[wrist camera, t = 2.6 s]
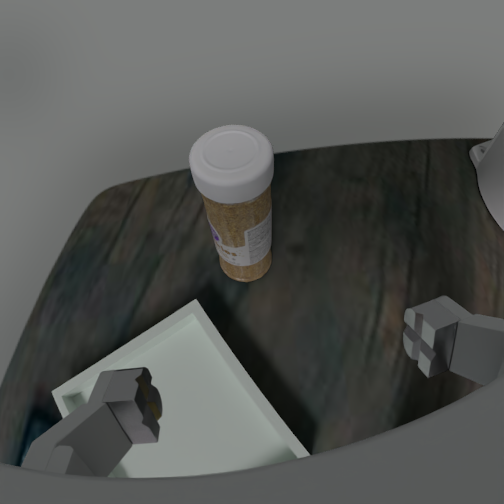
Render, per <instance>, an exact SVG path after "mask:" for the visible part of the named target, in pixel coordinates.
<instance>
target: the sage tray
mask: <svg viewBox="0 0 504 504" xmlns="http://www.w3.org/2000/svg"><path fill="white" fill-rule="evenodd" d="M139 367H146V368H148V369H149V372H150V374H151V376H152V381H151V384H152V385H153V386H155V387H156V388H157V389H158V391H159V393H160V396H161V400H162V408H163V411H162V417H161V418H160V419H159V420H158V423H159V425H160V432H159V439H158V442H157V443H146V444H132V445H133V446H132V447H131V448H130V450H129V451H128V452H127V453H126V455H125V456H124V457H123V458H122V460H121V461H120V462H119V463H118V464H117V466H116V467H115V468H114V469H113V471H112V472H111V473H110V474H109V475H108V477H119V478H152V477H175V476H190V475H201V474H211V473H219V472H227V471H234V470H241V469H247V468H253V467H259V466H265V465H270V464H275V463H280V462H284V461H289V460H293V459H298V458H302V457H306V456H310V454H309V453H308V452H307V450H306V449H305V448H304V447H303V445H302V444H301V443H300V442H299V440H298V439H297V438H296V437H295V435H294V434H293V433H292V432H291V430H290V429H289V428H288V427H287V425H286V424H285V423H284V421H283V420H282V419H281V417H280V416H279V415H278V414H277V412H276V411H275V410H274V408H273V407H272V406H271V404H270V403H269V402H268V400H267V399H266V398H265V396H264V395H263V394H262V392H261V391H260V390H259V388H258V387H257V386H256V384H255V383H254V382H253V380H252V379H251V377H250V376H249V375H248V373H247V372H246V371H245V369H244V368H243V366H242V365H241V364H240V362H239V361H238V359H237V358H236V357H235V355H234V354H233V352H232V351H231V350H230V348H229V347H228V345H227V344H226V342H225V341H224V339H223V338H222V337H221V335H220V334H219V332H218V331H217V329H216V328H215V326H214V325H213V323H212V322H211V320H210V319H209V318H208V316H207V315H206V313H205V312H204V310H203V309H202V307H201V306H200V304H199V303H198V301H197V299H195V300H193V301H192V302H190V303H189V304H187V305H185V306H184V307H182V308H181V309H179V310H178V311H176V312H175V313H173V314H172V315H170V316H169V317H167V318H165V319H164V320H162V321H161V322H159V323H158V324H156V325H155V326H153V327H152V328H150V329H148V330H147V331H145V332H144V333H142V334H141V335H139V336H138V337H136V338H135V339H133V340H131V341H130V342H128V343H127V344H125V345H124V346H122V347H121V348H119V349H117V350H116V351H114V352H113V353H111V354H110V355H108V356H107V357H105V358H103V359H102V360H100V361H99V362H97V363H96V364H94V365H92V366H91V367H89V368H88V369H86V370H85V371H83V372H82V373H80V374H78V375H77V376H75V377H74V378H72V379H71V380H69V381H67V382H66V383H64V384H63V385H61V386H60V387H58V388H56V389H55V390H53V391H52V394H53V396H54V399H55V401H56V403H57V406H58V408H59V410H60V412H61V414H62V417H63V419H64V418H65V417H66V416H67V415H69V414H70V413H71V412H73V411H74V410H75V409H77V408H78V407H79V406H80V405H82V404H87V402H88V399H89V397H90V395H91V392H92V390H93V388H94V386H95V383H96V381H97V379H98V377H99V374H100V373H101V372H102V371H108V370H118V369H129V368H139Z"/></svg>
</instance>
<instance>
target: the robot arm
mask: <svg viewBox="0 0 504 504" xmlns="http://www.w3.org/2000/svg"><path fill="white" fill-rule="evenodd" d="M469 155H470V158H471V160H472V162H473V164H474V166H475V168H476V171H477V177H478V185H479V189H480V192H481V195H482V198H483V200H484V202H485V204H486V206H487V208H488V210H489V211H490V213H491V215H492V216H493V218H494V219H495V221H496V222H497V223H498V225H499V226H500V227H501V228H502V229H503V230H504V123H503V124H502V126H501V128H500V129H499V131H498V132H497V134H496V135H495V137H494V138H493V139H492V140H490V141H487V142H484V143H481V144H478V145H476V146H473V147H472V149H471V150H470V151H469ZM404 321H405V322H406V324H407V325H408V326H407V327H406V329H405V331H404V332H403V342H404V347H405V350H406V352H407V354H408V355H409V356H410V358H411V359H414V360H417V361H419V362H418V367H419V368H420V369H421V370H422V372H423V373H424V374H425V375H426V376H427V377H428V378H430V377H432V376H435V375H437V374H440V373H442V372H444V371H447V370H449V369H450V370H449V371H451V372H454V373H456V374H458V375H461V376H463V377H465V378H468V379H470V380H472V381H475V382H477V383H480V384H482V385H484V386H483V387H481V388H480V389H478V390H476V391H474V392H472V393H470V394H469V395H467V396H465V397H463V398H461V399H459V400H457V401H455V402H453V403H451V404H449V405H447V406H445V407H443V408H441V409H439V410H437V411H434V412H432V413H430V414H428V415H426V416H423V417H421V418H419V419H416V420H414V421H412V422H409V423H407V424H404V425H402V426H399V427H397V428H394V429H392V430H389V431H386V432H384V433H381V434H378V435H375V436H373V437H370V438H367V439H364V440H361V441H358V442H355V443H352V444H349V445H345V446H342V447H339V448H335V449H332V450H329V451H325V452H321V453H318V454H314V455H310V456H306V457H302V458H298V459H293V460H289V461H284V462H280V463H275V464H270V465H265V466H259V467H253V468H247V469H241V470H234V471H227V472H219V473H211V474H201V475H190V476H175V477H152V478H119V477H108V475H109V474H110V473H111V472H112V471H113V469H114V468H115V467H116V466H117V464H118V463H119V462H120V461H121V460H122V458H123V457H124V456H125V455H126V453H127V452H128V451H129V450H130V448H131V447H132V446H133V445H132V444H146V443H157V442H158V439H159V432H160V425H159V423H158V420H159V419H160V418H161V417H162V411H163V408H162V400H161V396H160V393H159V391H158V389H157V388H156V387H155V386H153V385H152V384H151V381H152V376H151V374H150V372H149V369H148V368H146V367H139V368H129V369H118V370H108V371H102V372H101V373H100V374H99V377H98V379H97V381H96V383H95V386H94V388H93V390H92V392H91V395H90V397H89V399H88V402H87V404H82V405H80V406H79V407H78V408H77V409H75V410H74V411H73V412H71V413H70V414H69V415H67V416H66V417H65V418H64V419H62V420H61V421H60V422H58V423H57V424H56V425H54V426H53V427H52V428H50V429H49V430H48V431H46V432H45V433H44V434H43V435H41V436H40V437H39V438H37V439H36V440H35V441H33V442H32V444H31V446H30V449H29V451H28V453H27V455H26V457H25V459H24V462H23V464H22V466H21V467H17V466H12V465H7V464H3V463H0V504H504V319H500V318H495V317H490V316H484V315H479V314H475V315H472V314H471V313H469V312H468V311H467V310H465V309H464V308H463V307H461V306H460V305H459V304H457V303H456V302H454V301H453V300H452V299H450V298H449V297H447V296H441V297H438V298H436V299H433V300H431V301H428V302H426V303H423V304H420V305H417V306H414V307H411V308H408V309H406V311H405V316H404Z"/></svg>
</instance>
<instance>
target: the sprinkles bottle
mask: <svg viewBox="0 0 504 504" xmlns="http://www.w3.org/2000/svg"><path fill="white" fill-rule="evenodd" d="M189 164H190V168H191V172H192V176H193V179H194V182H195V185H196V187H197V188H198V190H199V191H200V192H201V194H202V197H203V201H204V204H205V208H206V211H207V217H208V221H209V224H210V227H211V231H212V234H213V238H214V241H215V245H216V248H217V251H218V253H219V256H220V265H221V267H222V269H223V271H224V273H226V274H227V275H228V276H229V277H230V278H232V279H234V280H237V281H240V282H241V281H242V282H249V281H253V280H257V279H259V278H261V277H262V276H263V275H264V274H265V273H266V272H267V271H268V269H269V268H270V265H271V262H272V254H271V250H270V247H271V239H272V200H271V180H272V178H273V174H274V155H273V147H272V145H271V143H270V141H269V139H268V138H267V137H266V136H265V135H264V134H263V133H261V132H260V131H258V130H256V129H254V128H252V127H248V126H244V125H225V126H221V127H217V128H215V129H212V130H210V131H208V132H207V133H205V134H204V135H202V136H201V137H200V138H199V139H198V140H197V141H196V142H195V144H194V145H193V147H192V149H191V151H190V156H189Z"/></svg>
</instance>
